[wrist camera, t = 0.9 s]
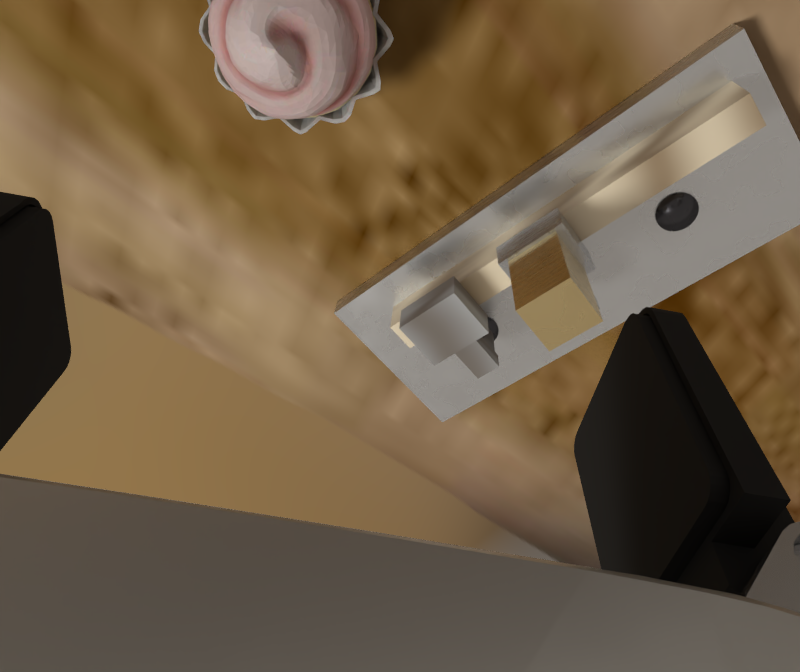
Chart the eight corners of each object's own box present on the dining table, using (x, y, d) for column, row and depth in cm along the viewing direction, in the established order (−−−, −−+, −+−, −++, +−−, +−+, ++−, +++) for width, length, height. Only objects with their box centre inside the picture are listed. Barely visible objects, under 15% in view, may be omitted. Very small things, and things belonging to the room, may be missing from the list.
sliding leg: (551, 191, 37) (577, 268, 30) (606, 268, 40) (643, 358, 32) (494, 230, 39) (504, 313, 31) (550, 302, 42) (573, 394, 34)
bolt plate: (733, 23, 34) (744, 28, 32) (819, 196, 39) (832, 207, 37) (337, 301, 45) (334, 313, 44) (442, 408, 50) (442, 423, 48)
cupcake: (430, 56, 36) (423, 105, 27) (290, 134, 39) (246, 199, 30) (341, -128, 31) (302, -135, 23) (191, -24, 34) (108, 3, 26)
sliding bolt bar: (726, 69, 34) (762, 93, 30) (774, 163, 36) (814, 196, 32) (386, 299, 43) (379, 340, 39) (444, 361, 45) (443, 406, 41)
